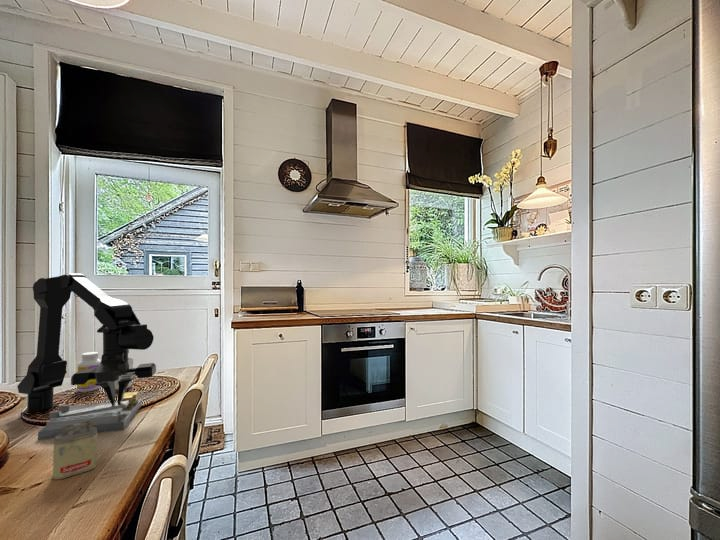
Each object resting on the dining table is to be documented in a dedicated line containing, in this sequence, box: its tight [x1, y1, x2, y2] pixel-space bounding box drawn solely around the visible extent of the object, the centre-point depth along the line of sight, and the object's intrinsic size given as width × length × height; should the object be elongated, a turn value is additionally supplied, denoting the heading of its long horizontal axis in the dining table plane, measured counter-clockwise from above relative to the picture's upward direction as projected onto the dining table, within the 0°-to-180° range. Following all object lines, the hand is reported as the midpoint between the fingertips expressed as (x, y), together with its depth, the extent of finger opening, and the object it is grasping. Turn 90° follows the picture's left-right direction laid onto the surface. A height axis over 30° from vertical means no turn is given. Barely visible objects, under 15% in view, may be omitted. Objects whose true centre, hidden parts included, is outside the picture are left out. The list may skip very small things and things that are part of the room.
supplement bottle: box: [76, 351, 101, 393], centre depth 121 cm, size 7×7×13 cm
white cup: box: [115, 356, 135, 390], centre depth 125 cm, size 7×7×10 cm
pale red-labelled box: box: [51, 419, 98, 480], centre depth 71 cm, size 7×4×10 cm, turn 134°
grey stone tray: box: [37, 398, 143, 441], centre depth 95 cm, size 18×18×5 cm
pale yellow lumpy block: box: [122, 391, 140, 404], centre depth 103 cm, size 6×4×3 cm, turn 20°
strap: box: [61, 400, 129, 418], centre depth 93 cm, size 16×3×1 cm, turn 110°
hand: (116, 404), depth 95 cm, fingers closed
